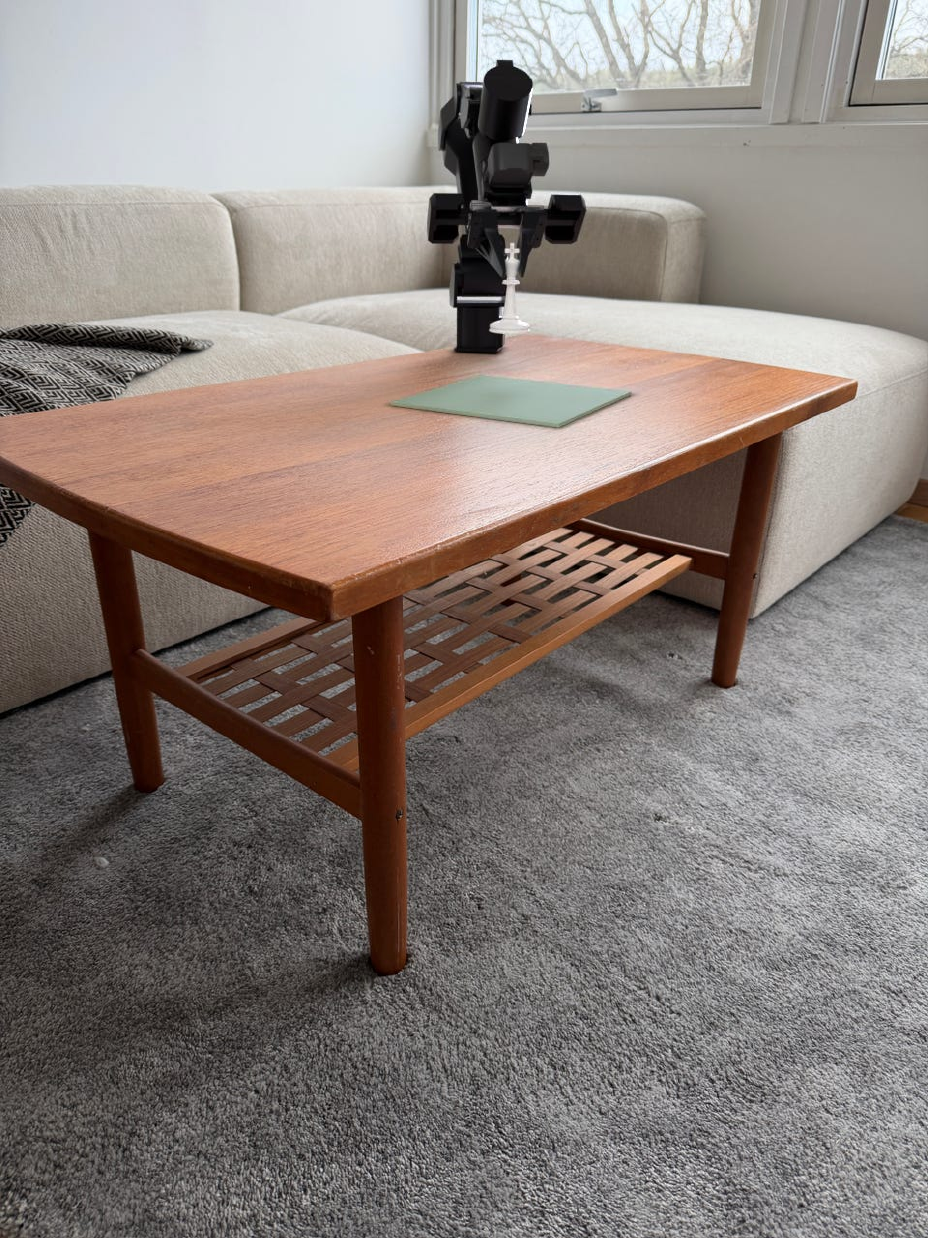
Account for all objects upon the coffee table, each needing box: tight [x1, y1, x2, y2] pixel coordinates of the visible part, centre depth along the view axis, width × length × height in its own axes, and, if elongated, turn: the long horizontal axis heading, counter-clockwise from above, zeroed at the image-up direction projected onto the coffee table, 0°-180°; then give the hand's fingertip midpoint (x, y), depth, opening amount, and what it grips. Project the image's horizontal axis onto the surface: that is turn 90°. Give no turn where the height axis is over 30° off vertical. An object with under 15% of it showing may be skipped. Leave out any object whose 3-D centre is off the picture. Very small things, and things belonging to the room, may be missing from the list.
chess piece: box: [489, 242, 530, 335], centre depth 109 cm, size 5×5×10 cm
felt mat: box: [390, 374, 632, 428], centre depth 102 cm, size 20×20×1 cm
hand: (513, 274), depth 108 cm, fingers closed on chess piece
